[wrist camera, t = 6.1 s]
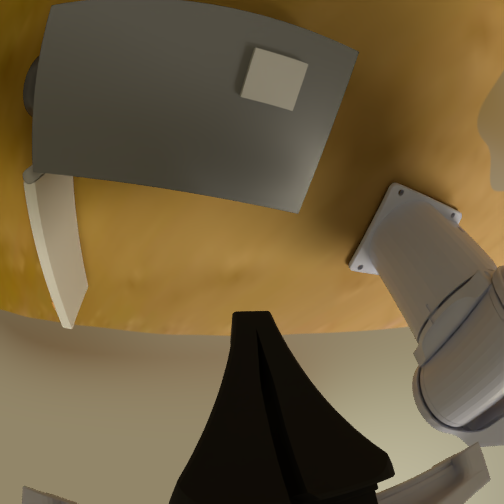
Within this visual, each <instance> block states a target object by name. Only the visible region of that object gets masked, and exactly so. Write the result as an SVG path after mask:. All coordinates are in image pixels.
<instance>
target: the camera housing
mask: <svg viewBox="0 0 504 504" xmlns="http://www.w3.org/2000/svg"><path fill="white" fill-rule="evenodd" d="M358 54H359V52H358V51H356V50H354V49H352V48H350V47H348V46H346V45H343V44H341V43H339V42H337V41H334V40H332V39H330V38H327V37H325V36H322V35H320V34H317V33H315V32H312V31H310V30H307V29H304V28H301V27H298V26H296V25H293V24H290V23H287V22H283V21H280V20H277V19H274V18H270V17H267V16H263V15H259V14H255V13H251V12H247V11H243V10H239V9H234V8H229V7H224V6H218V5H213V4H206V3H199V2H192V1H183V0H85V1H77V2H70V3H63V4H57V5H52V7H51V10H50V13H49V17H48V21H47V25H46V29H45V33H44V37H43V42H42V46H41V52H40V56H38V57H37V58H36V59H35V61H34V62H33V63H32V65H31V67H30V69H29V71H28V73H27V76H26V79H25V83H24V90H23V99H24V105H25V108H26V110H27V112H28V113H29V115H31V116H32V117H33V124H32V161H33V172H36V173H47V174H57V175H67V176H76V177H85V178H93V179H101V180H109V181H117V182H124V183H131V184H138V185H145V186H152V187H158V188H165V189H171V190H177V191H183V192H189V193H195V194H201V195H206V196H212V197H217V198H223V199H228V200H233V201H239V202H244V203H249V204H254V205H259V206H264V207H269V208H274V209H278V210H283V211H288V212H292V213H297V214H298V213H299V211H300V208H301V206H302V203H303V201H304V198H305V196H306V193H307V191H308V188H309V186H310V183H311V180H312V178H313V175H314V173H315V170H316V168H317V165H318V163H319V160H320V157H321V155H322V152H323V150H324V147H325V144H326V142H327V139H328V136H329V134H330V131H331V128H332V126H333V123H334V120H335V118H336V115H337V112H338V110H339V107H340V104H341V101H342V99H343V96H344V93H345V90H346V88H347V85H348V82H349V79H350V76H351V74H352V71H353V68H354V65H355V62H356V59H357V56H358Z"/></svg>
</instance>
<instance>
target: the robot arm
mask: <svg viewBox="0 0 504 504" xmlns="http://www.w3.org/2000/svg"><path fill="white" fill-rule="evenodd" d="M400 190H401V192H400V193H399V191H400ZM461 218H462V214H461V213H460V212H459V211H457V210H455V209H453V208H451V207H449V206H447V205H445V204H443V203H441V202H439V201H437V200H435V199H433V198H430V197H428V196H426V195H424V194H422V193H419V192H417V191H415V190H413V189H410V188H408V187H406V186H403V185H401V184H399V183H392V184H391V185H390V186H389V188H388V190H387V192H386V194H385V196H384V199H383V201H382V203H381V205H380V207H379V209H378V211H377V213H376V214H375V216H374V218H373V220H372V222H371V224H370V226H369V228H368V230H367V232H366V234H365V235H364V237H363V239H362V241H361V243H360V245H359V246H358V248H357V250H356V252H355V254H354V255H353V257H352V259H351V261H350V263H349V268H350V270H352V271H356V272H363V273H370V274H376V275H379V276H380V277H381V279H382V280H383V282H384V284H385V285H386V287H387V289H388V290H389V292H390V294H391V295H392V297H393V299H394V301H395V302H396V304H397V306H398V308H399V309H400V311H401V313H402V315H403V316H404V318H405V320H406V322H407V324H408V326H409V327H410V329H411V331H412V333H413V335H414V337H415V339H416V341H417V342H418V344H419V345H418V347H417V349H416V350H415V351H414V353H413V354H414V356H415V358H416V360H417V362H418V364H419V366H418V367H417V369H416V371H415V373H414V376H413V382H412V389H413V396H414V399H415V402H416V405H417V408H418V410H419V412H420V413H421V415H422V416H423V418H424V419H425V420H426V421H427V422H428V423H429V424H430V425H431V426H432V427H433V428H435V429H436V430H438V431H441V432H444V433H449V434H453V435H455V436H457V437H459V438H460V439H461V440H463V441H464V442H465V443H466V444H467V445H468V446H469V447H468V448H466V449H465V450H463V451H461V452H459V453H457V454H454V455H453V456H451V457H449V458H447V459H445V460H443V461H442V462H440V463H438V464H436V465H434V466H433V467H432V468H431V469H429V470H427V471H426V472H423V473H421V474H420V475H417V476H416V477H414V478H411V479H409V480H407V481H405V482H403V483H400V484H398V485H396V486H393V487H391V488H389V489H386V490H384V491H381V492H379V493H376V492H375V490H377V489H378V486H377V483H378V482H381V481H384V480H386V479H388V478H391V477H393V476H394V475H395V472H394V469H393V466H392V463H391V461H390V458H389V456H388V454H387V453H386V452H384V451H383V450H382V449H380V448H379V447H377V446H376V445H375V444H373V443H372V442H371V441H369V440H368V439H367V438H366V437H364V436H363V435H362V434H361V433H360V432H358V431H357V430H356V429H355V428H354V427H353V426H351V425H350V424H349V423H348V422H347V421H346V420H345V419H344V418H343V417H342V416H341V415H340V414H339V413H338V412H337V411H336V410H335V409H334V408H333V407H332V406H331V405H330V404H329V402H327V400H326V399H325V398H324V397H323V396H322V395H321V393H320V392H319V391H318V390H317V388H316V387H315V386H314V385H313V383H312V382H311V381H310V379H309V378H308V376H307V375H306V374H305V372H304V371H303V369H302V368H301V367H300V365H299V363H298V362H297V360H296V359H295V357H294V356H293V354H292V352H291V351H290V349H289V348H288V346H287V344H286V342H285V341H284V339H283V337H282V335H281V333H280V332H279V330H278V328H277V326H276V324H275V322H274V319H273V317H272V315H271V313H270V312H269V311H241V312H234V313H233V315H232V328H231V341H230V342H231V347H230V352H229V356H228V361H227V365H226V369H225V373H224V376H223V380H222V383H221V386H220V390H219V393H218V396H217V398H216V401H215V404H214V407H213V409H212V412H211V414H210V417H209V419H208V421H207V424H206V426H205V429H204V431H203V433H202V435H201V438H200V440H199V441H198V444H197V446H196V448H195V450H194V452H193V454H192V456H191V458H190V459H189V461H188V463H187V465H186V467H185V469H184V470H183V472H182V474H181V475H180V477H179V479H178V481H177V484H176V486H175V488H174V491H173V493H172V496H171V499H170V502H169V504H464V503H465V502H466V501H467V500H468V499H469V498H470V497H472V496H473V495H474V494H475V493H476V492H477V491H478V490H479V489H481V488H482V487H483V486H484V485H485V484H487V483H488V482H489V481H490V476H489V473H488V469H487V466H486V463H485V460H484V457H483V454H482V451H481V448H480V447H486V446H498V445H504V266H499V267H498V268H497V267H496V265H495V263H494V262H493V260H492V259H491V258H490V257H489V256H488V255H487V254H486V252H485V251H484V250H483V249H482V248H481V247H480V246H479V245H478V244H477V243H476V242H475V241H474V240H473V239H472V238H471V237H470V236H469V235H468V234H467V233H466V232H465V231H464V230H463V229H462V228H461V227H460V226H459V225H458V223H459V222H460V220H461ZM358 266H359V267H358ZM22 504H77V503H76V502H73V501H70V500H67V499H64V498H61V497H59V496H56V495H53V494H49V493H44V492H41V491H38V490H35V489H33V488H30V487H26V486H23V494H22Z"/></svg>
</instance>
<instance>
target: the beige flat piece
mask: <svg viewBox="0 0 504 504" xmlns="http://www.w3.org/2000/svg"><path fill="white" fill-rule="evenodd" d="M23 179H24V181H25V182H24V189H25V196H26V202H27V208H28V213H29V218H30V223H31V228H32V232H33V237H34V241H35V245H36V249H37V253H38V256H39V260H40V263H41V267H42V270H43V274H44V277H45V280H46V283H47V286H48V289H49V292H50V295H51V298H52V305H53V307H54V309H56V311H57V314H58V316H59V319H60V321H61V324H62V326H63V327H64V328H69V329H72V328H73V325H74V322H75V319H76V317H77V314H78V311H79V308H80V306H81V303H82V301H83V298H84V296H85V293H86V291H87V288H88V283H87V279H86V274H85V269H84V264H83V258H82V252H81V246H80V240H79V233H78V226H77V218H76V209H75V199H74V187H73V176H67V175H57V174H47V173H36V172H33V165H31V166H30V167H29V168H28V169H26V170H25V171H24V173H23Z"/></svg>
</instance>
